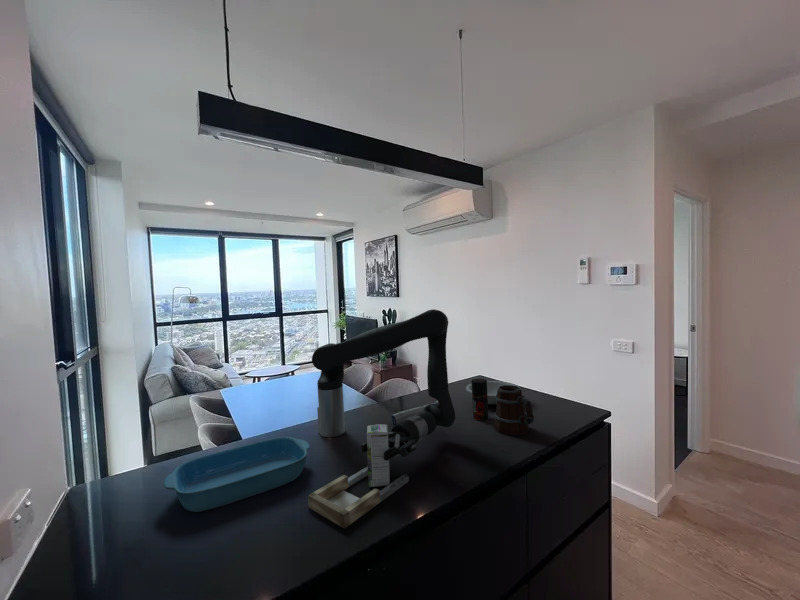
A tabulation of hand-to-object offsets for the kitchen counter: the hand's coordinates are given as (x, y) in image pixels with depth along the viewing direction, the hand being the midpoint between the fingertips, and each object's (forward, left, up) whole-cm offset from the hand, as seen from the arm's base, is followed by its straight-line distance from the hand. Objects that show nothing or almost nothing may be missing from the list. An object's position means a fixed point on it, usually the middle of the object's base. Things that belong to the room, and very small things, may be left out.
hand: (373, 452), depth 92 cm
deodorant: (+2, +59, -9) cm, 60 cm away
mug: (+18, +54, -9) cm, 58 cm away
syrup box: (0, +2, -9) cm, 9 cm away
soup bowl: (-2, +80, -9) cm, 80 cm away
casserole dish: (-31, -20, -9) cm, 38 cm away
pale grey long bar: (-18, +47, -9) cm, 51 cm away
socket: (0, -11, -9) cm, 14 cm away
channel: (0, +1, -9) cm, 9 cm away
